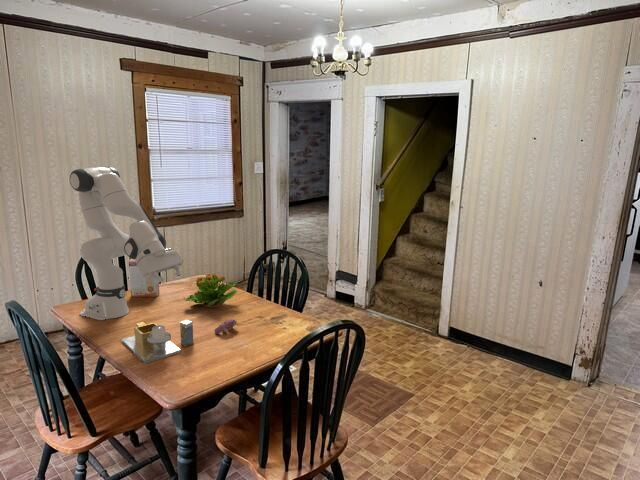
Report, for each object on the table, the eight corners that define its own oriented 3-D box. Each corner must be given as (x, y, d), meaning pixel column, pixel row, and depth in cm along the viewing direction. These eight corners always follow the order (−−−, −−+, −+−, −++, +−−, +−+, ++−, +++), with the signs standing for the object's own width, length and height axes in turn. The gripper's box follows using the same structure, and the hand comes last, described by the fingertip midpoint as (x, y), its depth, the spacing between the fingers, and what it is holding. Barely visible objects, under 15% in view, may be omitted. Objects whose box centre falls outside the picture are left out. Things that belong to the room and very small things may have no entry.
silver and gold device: (121, 341, 184) (119, 315, 182) (156, 331, 194) (154, 307, 192) (145, 365, 165) (143, 336, 163) (182, 353, 175) (181, 326, 173)
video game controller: (219, 338, 193) (224, 327, 190) (212, 332, 195) (217, 320, 192) (234, 330, 201) (239, 320, 198) (228, 324, 203) (233, 313, 200)
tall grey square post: (181, 344, 183) (180, 322, 181) (187, 341, 186) (186, 319, 184) (186, 346, 182) (185, 324, 179) (193, 343, 185) (192, 321, 182)
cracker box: (159, 293, 242) (158, 257, 237) (156, 297, 236) (154, 260, 232) (134, 293, 241) (132, 257, 237) (130, 297, 235) (127, 260, 231)
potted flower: (206, 294, 244) (205, 264, 240) (244, 299, 237) (244, 268, 234) (181, 309, 220) (179, 277, 216) (223, 316, 214) (222, 282, 210)
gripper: (170, 251, 198) (185, 275, 196) (131, 261, 181) (147, 288, 179) (176, 243, 195) (192, 268, 193) (137, 253, 178) (154, 280, 176)
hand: (170, 278), depth 186 cm, fingers open, 8 cm apart
